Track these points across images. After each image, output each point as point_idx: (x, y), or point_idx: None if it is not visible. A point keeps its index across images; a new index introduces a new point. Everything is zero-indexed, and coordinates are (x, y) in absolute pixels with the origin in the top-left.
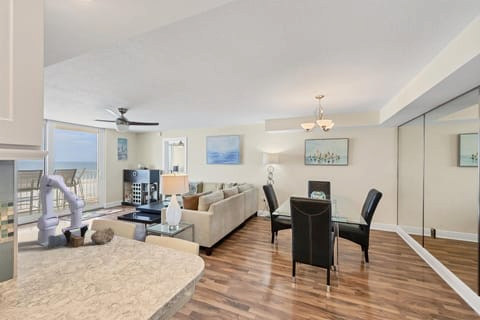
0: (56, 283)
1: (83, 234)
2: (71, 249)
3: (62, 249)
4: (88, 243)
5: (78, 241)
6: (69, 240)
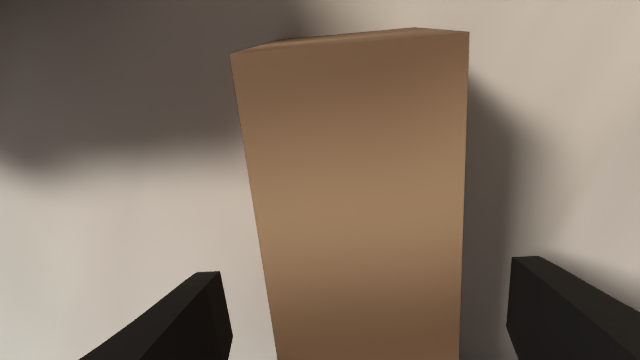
0: None
1: (154, 340)
2: (557, 3)
3: (629, 174)
4: (163, 105)
5: (430, 32)
6: (565, 279)
